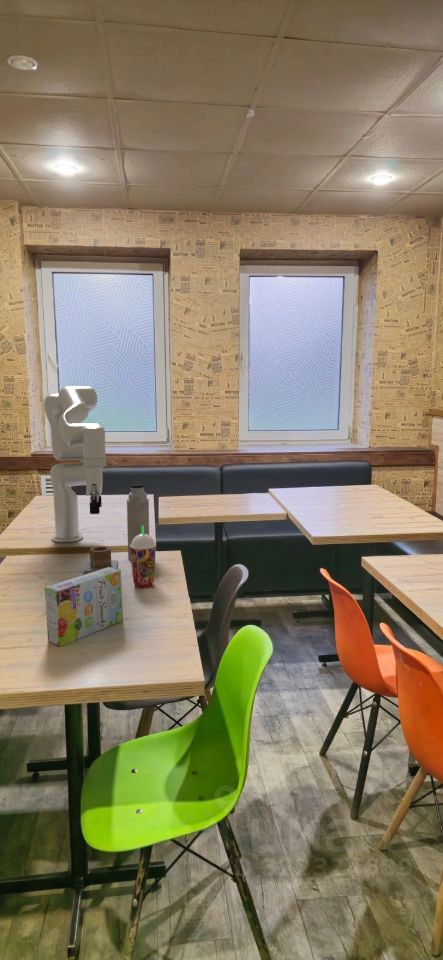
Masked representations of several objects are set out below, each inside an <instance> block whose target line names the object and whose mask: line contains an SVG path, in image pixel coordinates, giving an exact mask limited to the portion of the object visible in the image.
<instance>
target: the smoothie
mask: <svg viewBox="0 0 443 960" xmlns="http://www.w3.org/2000/svg"><path fill="white" fill-rule="evenodd" d="M156 546H157V544H156V543H155V540H154V539H153V537H152V536H151V535H150V534H149V535H147V534H144V526H142V534H139V535H137V536H136V537H135V538H134V539H133V540H132V543H131V544H130V550H131V560H130V561H131V570H132V571H131V573H132V582H133V584H134V587H136V588H139V589H147V588H151V587H152V586H153V584H154V582H155V574H156V573H155V570H156V569H155V568H156V550H157V549H156Z"/></svg>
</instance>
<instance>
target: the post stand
mask: <svg viewBox="0 0 443 960" xmlns="http://www.w3.org/2000/svg"><path fill="white" fill-rule="evenodd" d="M85 562H86V563H85V566H84V568H83V575H85V574H88V573H92V572H95V571H98V570H101V569H104V568H97V569H96V568H93V567H91V566H90V560H86V561H85ZM118 566H119V561H118V559H111V566H110V567H111V568H114V569H117V570H118Z"/></svg>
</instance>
